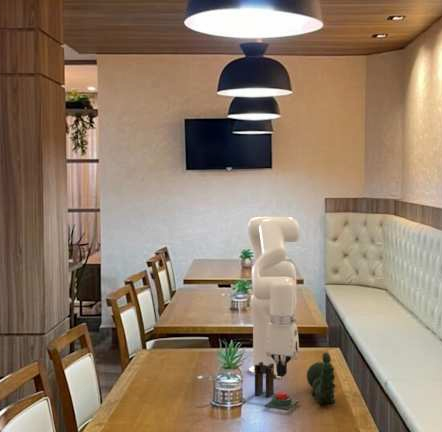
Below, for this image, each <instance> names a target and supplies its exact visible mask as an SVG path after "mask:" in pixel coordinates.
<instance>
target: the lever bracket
mask: <svg viewBox="0 0 442 432" xmlns="http://www.w3.org/2000/svg"><path fill="white" fill-rule="evenodd" d="M261 365H263V362H259V363H258V364H256V365H255V372H254V397H259V396H260V395H262V394H264V374H262V373H260V372H259V370H260V366H261ZM274 382H275V380H274V364H273V363H271V364H269V365H268V366H266V374H265V398H266V399H270V398H272V397H273V396H275V391H274V390H275V388H274V387H275V383H274Z"/></svg>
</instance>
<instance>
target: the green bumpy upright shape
mask: <svg viewBox="0 0 442 432" xmlns="http://www.w3.org/2000/svg"><path fill="white" fill-rule="evenodd" d="M321 357H322V361H319V362H314V363H312V364H311V365H310V366H309V367H308V369H307V370H306V371H307V372H306V381H307V383H308V385H309V386H310V387H311V388H312V390H311V393H310V394H311V396H312V397H314V398H313V400H315V401H316V404H318V405H321V406H322V405H323V404H324V403H328V404H329V405H334V404H335V403H336V400H335V388H336V384H335V383H334V381H335V378H336V376H335V373H334V371H335V368H334V367H333V365H332V363H331V359H332V358H331V355H330V354H329V353H328V352H323V353H322V356H321Z"/></svg>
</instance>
